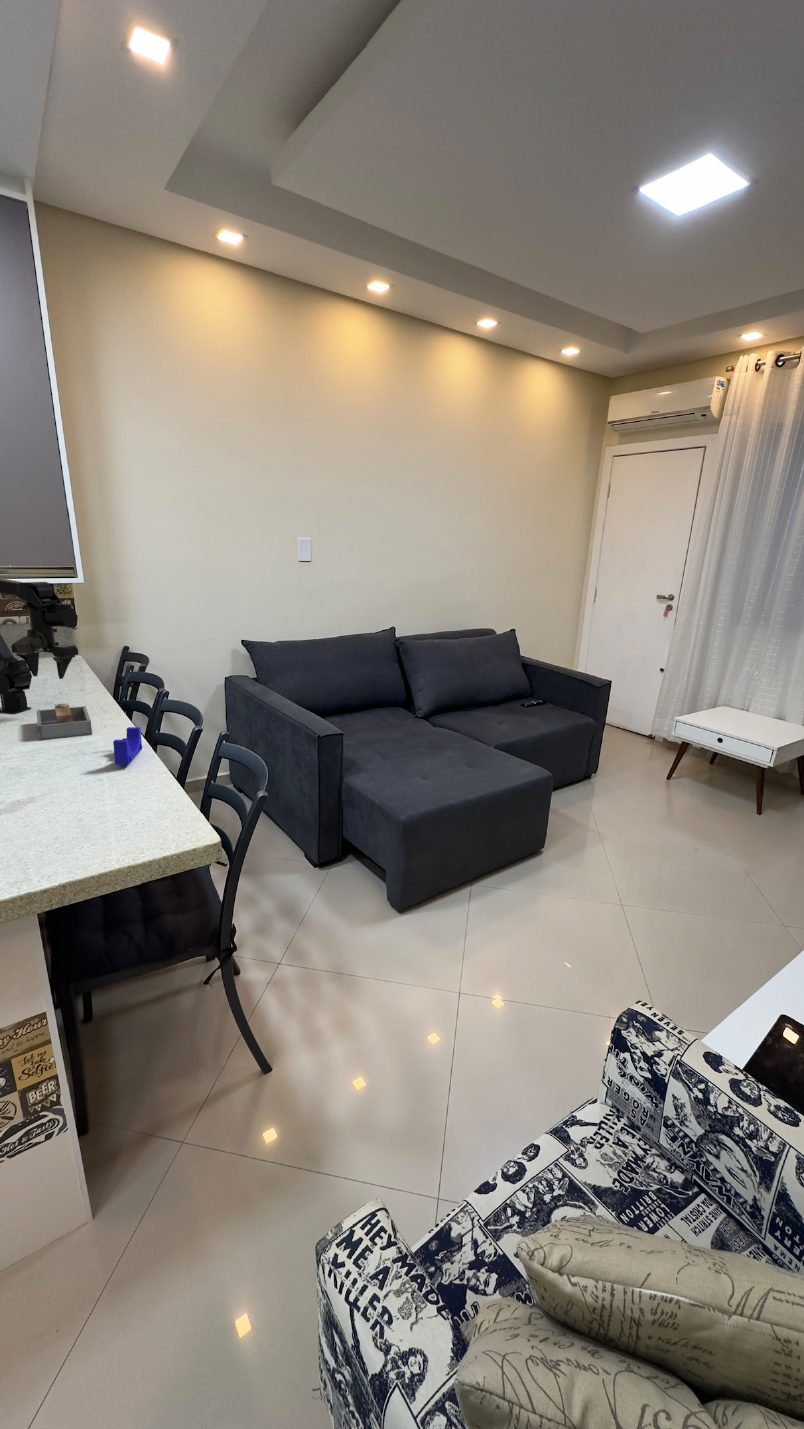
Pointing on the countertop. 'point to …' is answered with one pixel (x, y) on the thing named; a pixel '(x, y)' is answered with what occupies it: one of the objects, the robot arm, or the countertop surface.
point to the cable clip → (128, 746)
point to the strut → (63, 713)
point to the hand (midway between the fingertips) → (48, 677)
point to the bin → (63, 724)
